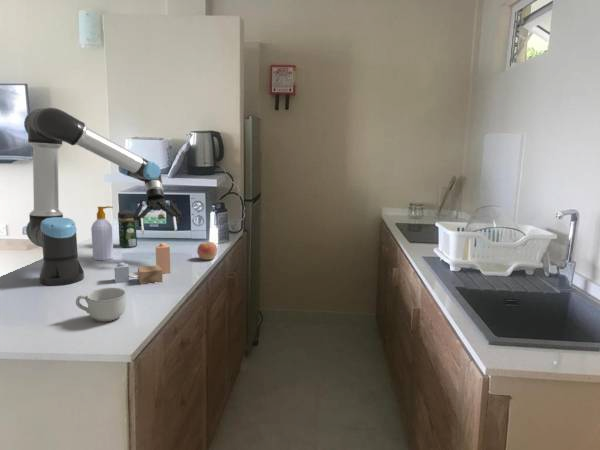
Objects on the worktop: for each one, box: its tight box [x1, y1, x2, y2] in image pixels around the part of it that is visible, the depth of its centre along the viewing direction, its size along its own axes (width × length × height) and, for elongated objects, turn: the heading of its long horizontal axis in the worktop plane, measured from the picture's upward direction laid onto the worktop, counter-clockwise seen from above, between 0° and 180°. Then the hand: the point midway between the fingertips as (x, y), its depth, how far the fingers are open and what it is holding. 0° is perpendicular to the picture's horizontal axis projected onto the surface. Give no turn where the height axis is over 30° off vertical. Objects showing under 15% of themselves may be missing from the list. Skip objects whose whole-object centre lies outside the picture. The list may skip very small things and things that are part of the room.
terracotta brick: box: [155, 242, 171, 275], centre depth 187 cm, size 5×5×12 cm
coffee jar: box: [117, 209, 138, 249], centre depth 232 cm, size 10×8×19 cm
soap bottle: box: [90, 205, 114, 261], centre depth 206 cm, size 9×9×24 cm
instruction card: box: [129, 270, 138, 278], centre depth 184 cm, size 8×6×1 cm
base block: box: [137, 264, 163, 285], centre depth 176 cm, size 8×8×5 cm
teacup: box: [75, 287, 127, 323], centre depth 137 cm, size 14×11×8 cm
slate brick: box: [113, 261, 130, 284], centre depth 175 cm, size 5×5×7 cm
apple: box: [196, 241, 218, 261], centre depth 209 cm, size 9×9×8 cm
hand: (159, 231), depth 195 cm, fingers open, 13 cm apart
